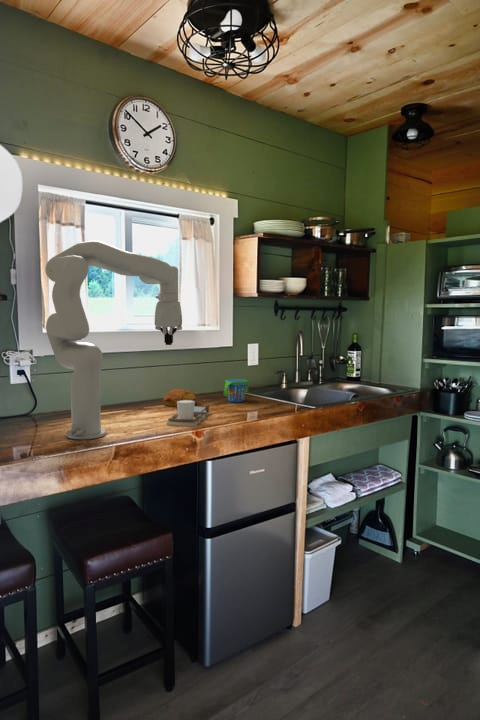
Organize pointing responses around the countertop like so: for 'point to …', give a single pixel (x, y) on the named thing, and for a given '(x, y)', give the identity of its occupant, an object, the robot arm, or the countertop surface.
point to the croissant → (178, 397)
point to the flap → (199, 409)
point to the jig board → (187, 422)
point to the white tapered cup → (185, 409)
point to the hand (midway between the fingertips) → (168, 344)
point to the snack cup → (236, 389)
